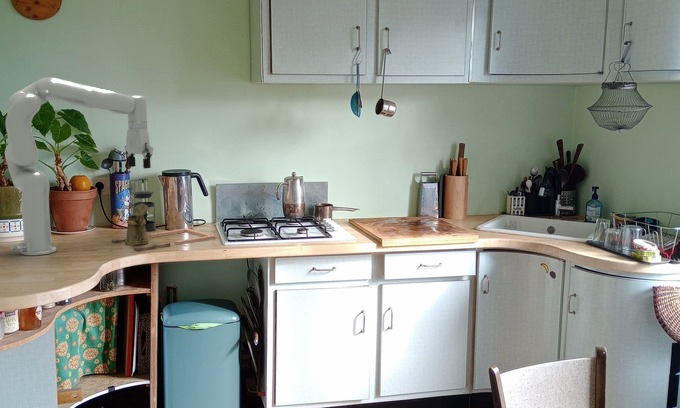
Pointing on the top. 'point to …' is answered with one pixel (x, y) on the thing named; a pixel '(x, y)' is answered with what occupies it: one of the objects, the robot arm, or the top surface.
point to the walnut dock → (143, 248)
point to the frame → (202, 238)
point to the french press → (147, 194)
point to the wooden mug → (137, 227)
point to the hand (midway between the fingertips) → (139, 167)
